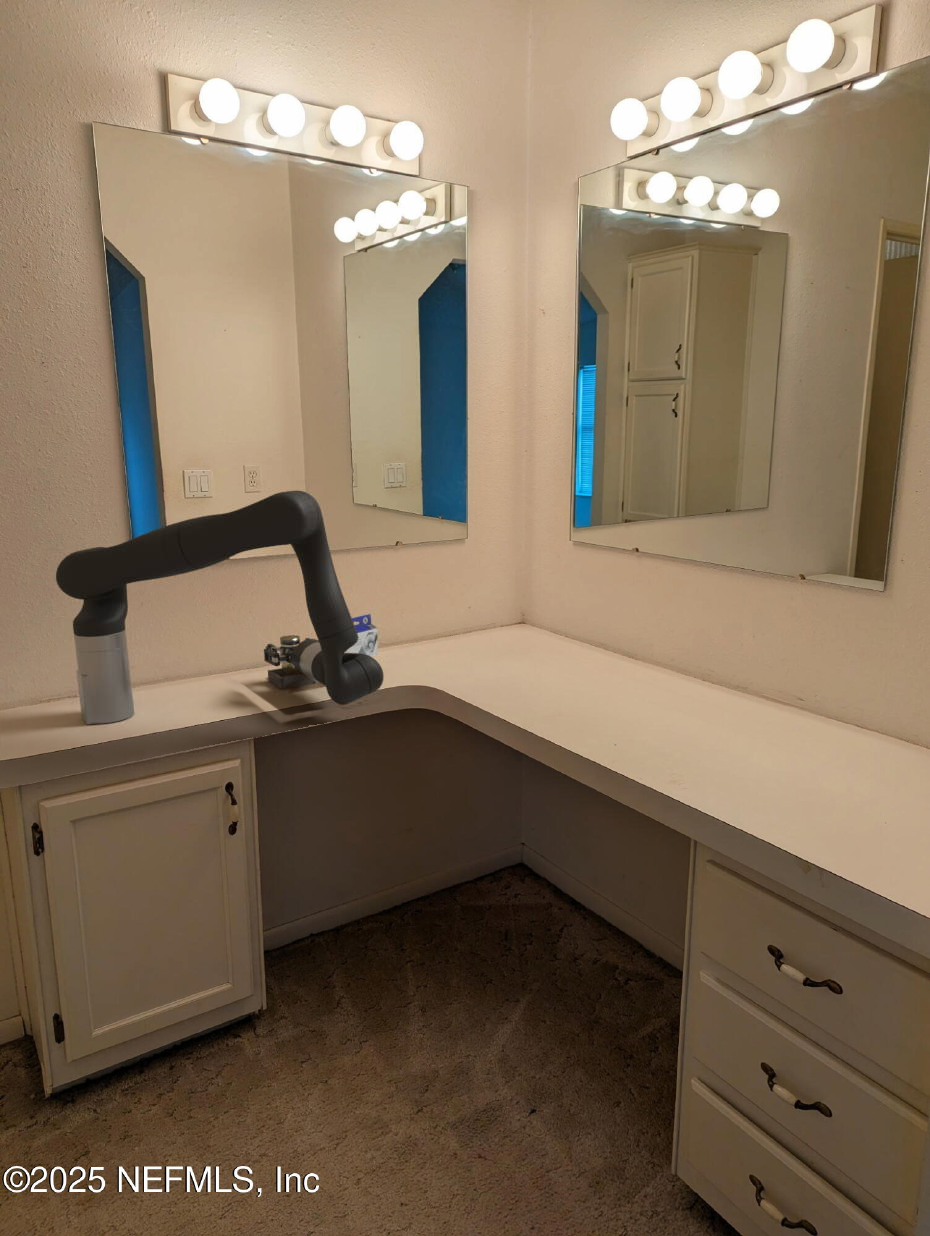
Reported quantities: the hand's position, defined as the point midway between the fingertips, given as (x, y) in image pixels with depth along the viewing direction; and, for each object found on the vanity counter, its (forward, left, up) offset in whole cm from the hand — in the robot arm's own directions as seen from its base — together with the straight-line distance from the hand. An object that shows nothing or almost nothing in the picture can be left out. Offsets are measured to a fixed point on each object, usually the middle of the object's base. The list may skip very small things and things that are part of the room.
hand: (287, 645), depth 182 cm
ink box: (+21, +8, -10) cm, 24 cm away
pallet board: (+5, -1, -9) cm, 11 cm away
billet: (0, -1, -8) cm, 8 cm away
